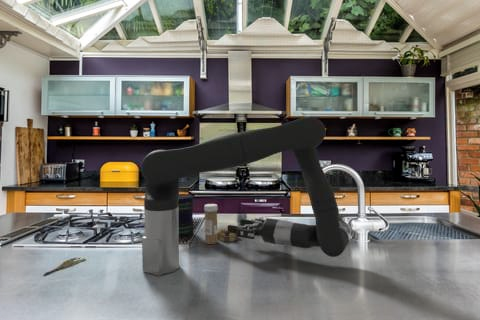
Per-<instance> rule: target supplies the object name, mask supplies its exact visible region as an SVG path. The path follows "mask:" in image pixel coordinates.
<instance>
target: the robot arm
mask: <svg viewBox="0 0 480 320" xmlns="http://www.w3.org/2000/svg"><path fill="white" fill-rule="evenodd" d="M326 132H327V130H326V126H325V125H324V123H323V122H322V120H320V119H319V118H316V117H312V116H303V117H301V118H298V119H296V120H293V121H289V122H286V123H283V124H280V125H276V126H273V127H265V128H258V129H251V130H246V131H240V132H235V133H230V134H225V135H222V136H218V137H215V138H212V139H209V140H205V141H203V142H201V143H198V144H194V145H193V146H188V147H182V148H175V149H167V150H166V149H156V150H153V151H151V152H149V153H148V154H147V155H146V156H145V157H143V160H142V161H141V166H140V172H141V175H142V177H143V178H144V179H145V194H144V199H143V206H144V207H143V209H144V211H143V212H144V215H143V216H144V221H143V222H144V236H143V237H142V238H141V246H142V247H141V249H142V251H141V252H142V253H141V254H142V257H141V261H142V262H141V264H142V272H145V273H148V274H151V275H155V276H161V275H165V274H170V273H173V272H175V271H177V270H178V269H179V267H180V244H179V243H180V241H179V240H180V239H179V220H178V217H179V216H178V199H179V194H180V179H183V178H184V177H188V176H191V175H196V174H199V173H205V172H214V171H216V172H217V171H220V170H221V171H222V170H226V169H232V168H236V167H241V166H245V165H249V164H252V163H256V162H258V161H260V160H263V159H266V158H268V157H272V156H274V155H277V154H279V153H284V152H290V151H292V153H293V155H294V156H295V159H296V161H297V164H298V166H299V168H300V172H301V174H302V177H303V181H304V184H305V187H306V190H307V194H308V198H309V201H310V205H311V210H312V211H313V216H314V219H315V220H314V221H315V224H305V223H299V222H293V221H288V220H284V219H277V218H266V219H263V218H262V219H260V218H254V219H245V218H244V219H243V218H241V219H240V221H239V222H240V224H239V226H238V225H234V224H229V225H227V231H228V232H231V233H236V237H237V238H243V239H249V240H250V239H251V240H254V239H255V238H256V237H259V236H260V237H261V238H262V241H263V242H264V243H268V244H274V245H277V246H285V247H294V248H295V247H296V248H301V249H311V248H313V247H319V248H320V250H321V251H322V252H323V253H324V254H325V255H326V256H327V257H331V258H336V257H339V256H341V255H342V254H343V253H344V252H345V249H346V248H347V246H348V244H349V242H350V241H349V240H350V239H349V234H348V232H347V231H346V229H344V228H342V227H341V226H340V222H339V221H340V220H339V215H340V212H339V211H340V210H339V206H338V202H337V200H336V196H335V192H334V190H333V187H332V185H331V183H330V181H329V179H328V177H327V176H326V174H325V173H326V172H324V170H323V168H322V165H321V162H320V160H319V156H318V150H317V147H318V146H320V145H321V143H322V142H323V140H324V139H325V137H326V134H327V133H326Z"/></svg>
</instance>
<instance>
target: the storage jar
mask: <svg viewBox="0 0 480 320" xmlns="http://www.w3.org/2000/svg"><path fill="white" fill-rule="evenodd" d="M193 210H194V195H193V194H189V193H179V199H178V216H179V217H178V220H179V240H183V239H189V238H192V237H193V236H194V227H195V225H194V219H193V215H194V214H193Z"/></svg>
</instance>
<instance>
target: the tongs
mask: <svg viewBox="0 0 480 320" xmlns="http://www.w3.org/2000/svg"><path fill="white" fill-rule="evenodd" d="M84 261H87V259H86V258H84V257H83V258H82V259H81V257H74V258H70V259H67V260H64V261H63V262H61V263H60V265H58V266H57V267H55V268H53V269H52V270H50V271H47V272H45V273H44V274H43V275H42V277H46V276H48V275H51V274H54V273H55V272H58V271H61V270H63V269H66V268H68V267H71V266H73V265H74V266H75V265H76V264H78V263H81V262H84Z"/></svg>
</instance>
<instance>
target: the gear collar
mask: <svg viewBox="0 0 480 320" xmlns="http://www.w3.org/2000/svg"><path fill="white" fill-rule="evenodd" d="M237 239H238V237H236V233H231V232H228V230H226V229H225V228H223V229H220V230H217V240H218V241H221V242H233V241H236V240H237Z"/></svg>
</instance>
